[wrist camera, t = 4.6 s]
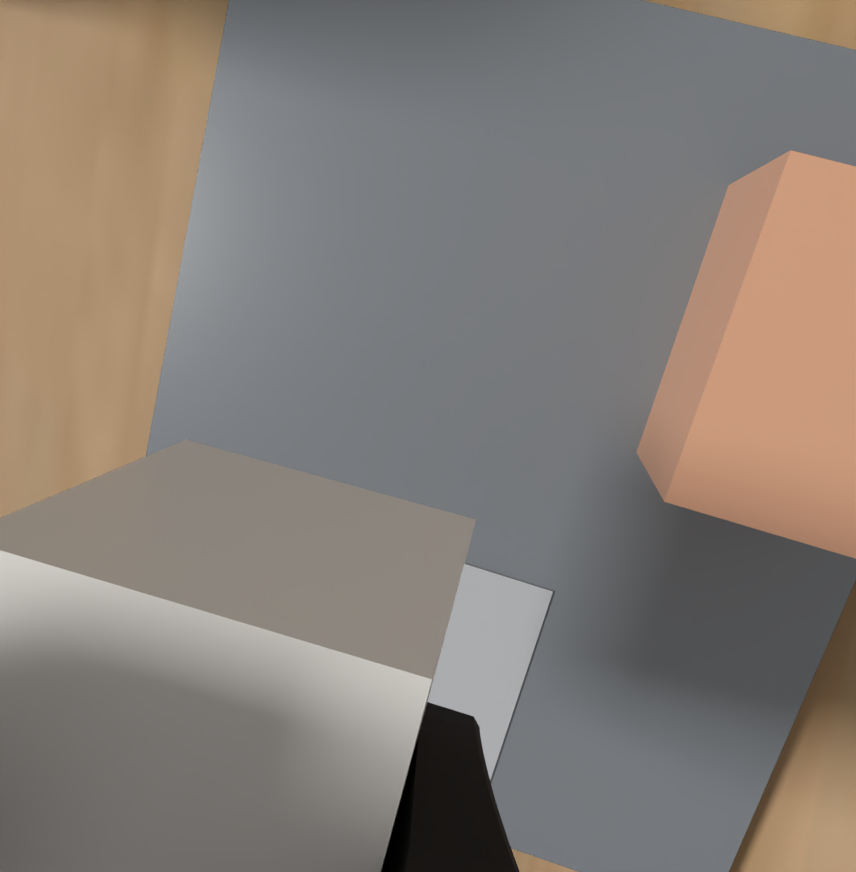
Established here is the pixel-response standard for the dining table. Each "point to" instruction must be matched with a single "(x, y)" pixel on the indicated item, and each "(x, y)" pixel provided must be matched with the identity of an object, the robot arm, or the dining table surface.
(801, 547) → the baseplate
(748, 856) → the dining table surface
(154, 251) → the dining table surface
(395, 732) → the off-white brick
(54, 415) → the dining table surface
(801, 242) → the terracotta brick
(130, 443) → the dining table surface
